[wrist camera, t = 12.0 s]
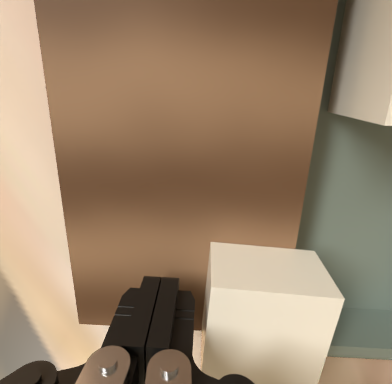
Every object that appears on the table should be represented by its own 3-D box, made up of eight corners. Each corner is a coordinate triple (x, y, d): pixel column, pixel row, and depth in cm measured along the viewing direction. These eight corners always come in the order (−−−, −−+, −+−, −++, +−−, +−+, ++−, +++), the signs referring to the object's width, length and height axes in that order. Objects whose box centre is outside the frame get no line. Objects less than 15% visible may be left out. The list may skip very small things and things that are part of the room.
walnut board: (66, -42, 12) (22, -81, 9) (316, -37, 12) (350, -75, 9) (100, 285, 17) (79, 323, 15) (268, 293, 17) (280, 334, 14)
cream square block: (210, 241, 13) (211, 287, 10) (314, 250, 13) (344, 298, 10) (201, 322, 14) (200, 381, 11) (294, 330, 14) (315, 391, 11)
